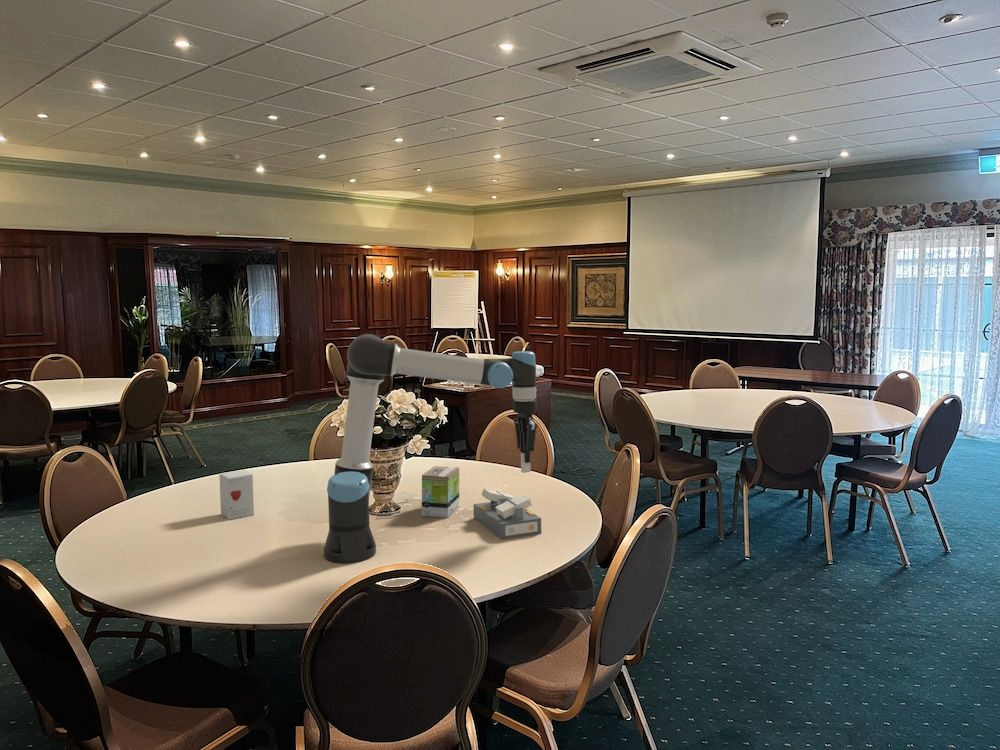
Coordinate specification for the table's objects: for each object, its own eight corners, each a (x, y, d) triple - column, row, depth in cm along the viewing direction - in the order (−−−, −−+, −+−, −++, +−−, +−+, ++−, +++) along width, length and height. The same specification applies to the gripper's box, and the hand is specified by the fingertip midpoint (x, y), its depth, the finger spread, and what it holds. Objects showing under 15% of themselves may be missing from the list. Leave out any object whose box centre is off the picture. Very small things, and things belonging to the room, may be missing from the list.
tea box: (449, 518, 239) (448, 476, 238) (421, 516, 241) (420, 475, 240) (460, 505, 254) (459, 466, 252) (433, 504, 256) (433, 465, 254)
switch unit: (501, 539, 216) (501, 512, 215) (473, 518, 238) (473, 493, 238) (541, 533, 222) (541, 506, 221) (511, 513, 244) (510, 488, 243)
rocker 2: (504, 518, 220) (502, 511, 219) (497, 513, 225) (495, 506, 225) (531, 505, 223) (529, 498, 222) (523, 500, 228) (521, 493, 228)
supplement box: (228, 520, 239) (226, 477, 238) (220, 514, 246) (218, 473, 244) (255, 515, 245) (253, 473, 243) (246, 509, 252) (244, 469, 250)
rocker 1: (488, 499, 230) (490, 492, 230) (481, 495, 236) (483, 488, 236) (514, 505, 234) (516, 498, 234) (507, 500, 240) (509, 493, 240)
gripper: (544, 401, 217) (545, 474, 220) (526, 396, 229) (527, 466, 232) (522, 403, 215) (523, 477, 217) (505, 398, 227) (507, 469, 229)
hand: (525, 471), depth 224 cm, fingers closed
